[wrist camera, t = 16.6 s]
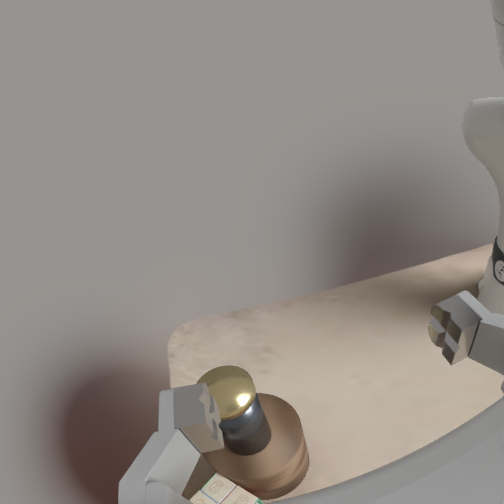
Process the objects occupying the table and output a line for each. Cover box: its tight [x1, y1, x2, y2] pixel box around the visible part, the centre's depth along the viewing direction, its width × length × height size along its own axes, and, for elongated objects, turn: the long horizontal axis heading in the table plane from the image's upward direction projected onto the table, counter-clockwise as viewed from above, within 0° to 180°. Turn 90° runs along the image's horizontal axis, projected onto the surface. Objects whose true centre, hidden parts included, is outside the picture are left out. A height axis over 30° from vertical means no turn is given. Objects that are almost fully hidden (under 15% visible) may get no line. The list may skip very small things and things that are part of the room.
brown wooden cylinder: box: [203, 393, 309, 500], centre depth 35 cm, size 12×12×10 cm
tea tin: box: [197, 366, 272, 456], centre depth 30 cm, size 6×6×10 cm
